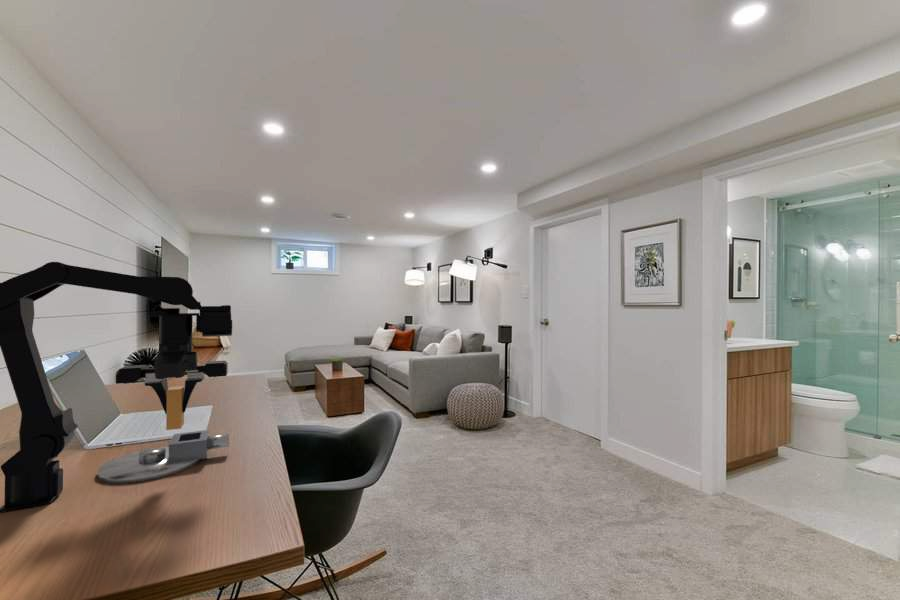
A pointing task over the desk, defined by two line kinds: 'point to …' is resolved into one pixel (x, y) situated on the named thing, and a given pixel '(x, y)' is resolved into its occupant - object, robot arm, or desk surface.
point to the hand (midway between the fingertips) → (175, 412)
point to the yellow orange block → (174, 408)
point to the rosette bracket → (162, 458)
